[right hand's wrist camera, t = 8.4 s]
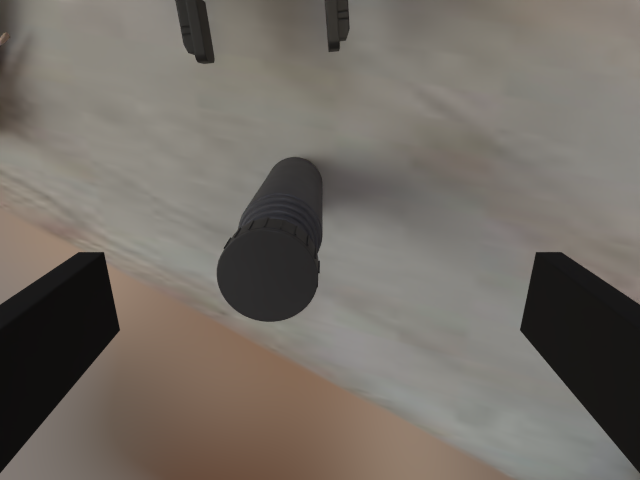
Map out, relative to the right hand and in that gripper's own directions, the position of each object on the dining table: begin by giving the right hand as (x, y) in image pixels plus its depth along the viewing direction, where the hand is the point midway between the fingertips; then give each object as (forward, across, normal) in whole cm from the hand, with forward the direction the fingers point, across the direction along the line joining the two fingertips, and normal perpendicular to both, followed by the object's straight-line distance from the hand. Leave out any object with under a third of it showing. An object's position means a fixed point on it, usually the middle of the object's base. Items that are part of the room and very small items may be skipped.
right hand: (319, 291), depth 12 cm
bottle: (+24, +2, +2) cm, 24 cm away
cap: (+5, +2, +2) cm, 6 cm away
